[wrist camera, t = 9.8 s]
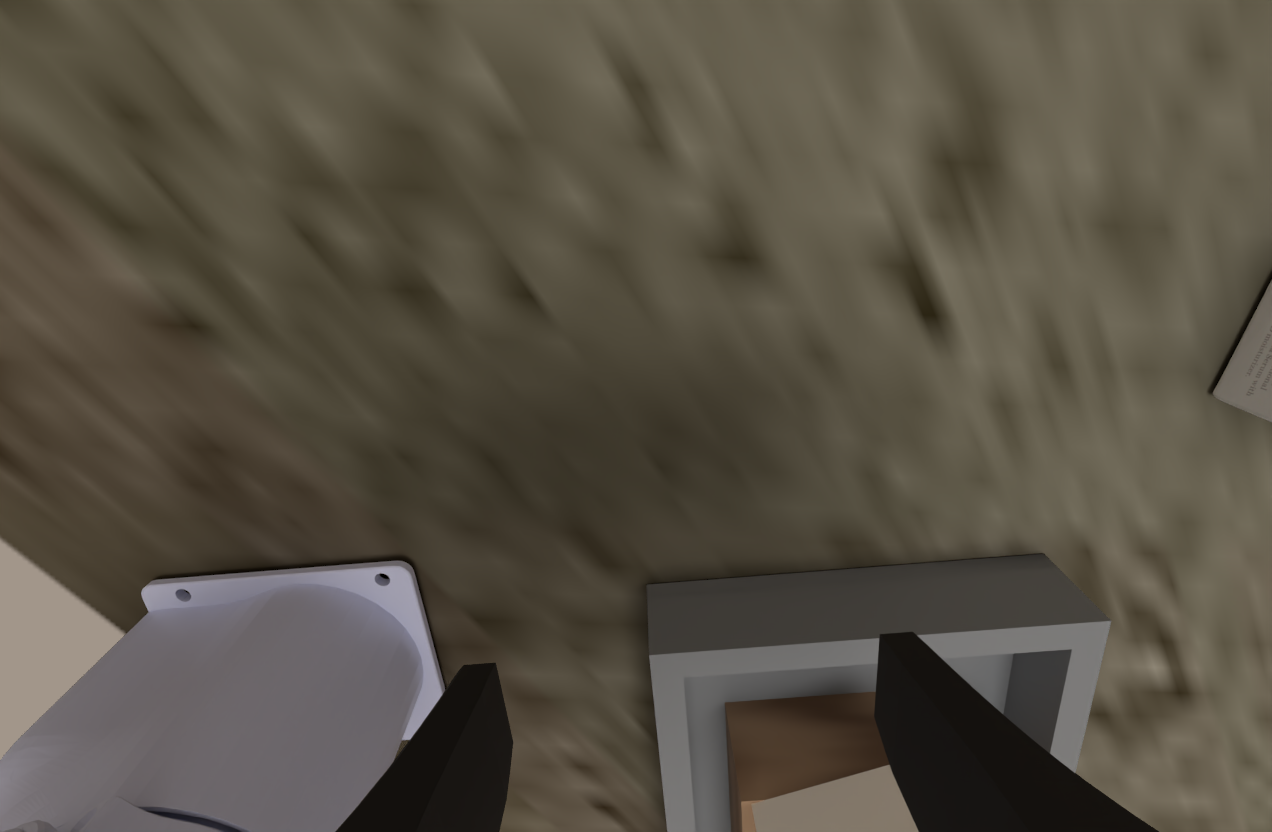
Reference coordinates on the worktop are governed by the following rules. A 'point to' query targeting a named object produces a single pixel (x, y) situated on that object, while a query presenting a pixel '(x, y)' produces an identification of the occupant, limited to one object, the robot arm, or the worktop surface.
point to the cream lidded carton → (839, 807)
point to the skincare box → (1251, 366)
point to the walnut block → (796, 747)
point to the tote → (862, 654)
